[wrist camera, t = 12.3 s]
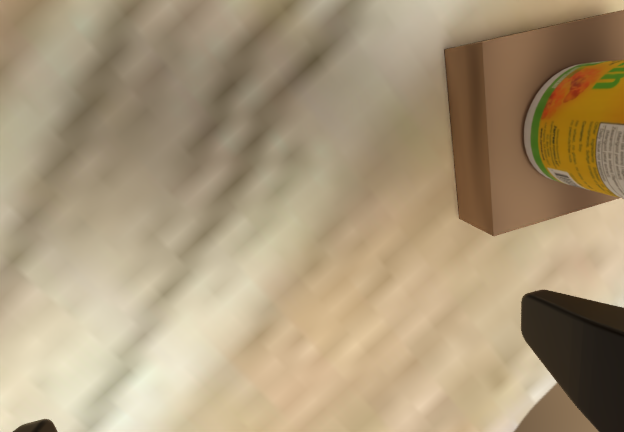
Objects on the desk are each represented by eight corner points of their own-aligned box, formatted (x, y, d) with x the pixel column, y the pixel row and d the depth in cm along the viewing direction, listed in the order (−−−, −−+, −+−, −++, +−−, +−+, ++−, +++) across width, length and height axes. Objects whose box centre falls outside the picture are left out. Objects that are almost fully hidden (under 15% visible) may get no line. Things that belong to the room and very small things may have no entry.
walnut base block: (459, 218, 22) (493, 236, 20) (444, 49, 20) (482, 41, 17) (595, 178, 24) (645, 190, 21) (600, 14, 21) (659, 2, 18)
